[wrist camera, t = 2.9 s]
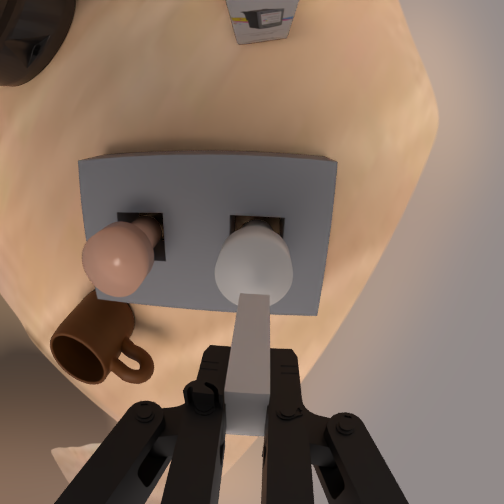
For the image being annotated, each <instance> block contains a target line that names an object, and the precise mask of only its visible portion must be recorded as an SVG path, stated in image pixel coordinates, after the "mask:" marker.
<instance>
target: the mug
mask: <svg viewBox="0 0 504 504" xmlns="http://www.w3.org/2000/svg"><path fill="white" fill-rule="evenodd" d="M133 329H134V317H133V313H132V311H131V309H130V307H129V306H128V305H127V303H126V302H117V301H110V300H102V299H98V298H97V294H96V291H93V292H91V293H89V294H88V295H87V296H86V297H85V298H84V299H83V300H82V301H81V302H80V303H79V304H78V305H77V306H76V307H75V309H74V310H73V311H72V312H71V313H70V314H69V315H68V316H67V317H66V319H65V320H64V321H63V322H62V323H61V324H60V326H59V327H58V328H57V330H56V331H55V333H54V334H53V336H52V337H51V340H50V349H51V352H52V354H53V357H54V358H55V360H56V361H57V363H58V364H59V365H60V367H61V368H62V369H63V370H64V371H65V372H67V373H68V374H69V375H71V376H72V377H73V378H75V379H77V380H79V381H81V382H84V383H87V384H99V383H102V382H103V381H104V380H105V379H106V377H107V376H108V374H109V373H110V372H111V371H112V372H114V373H115V374H116V375H117V376H118V377H120V378H121V379H122V380H124V381H126V382H129V383H134V384H140V383H143V382H146V381H147V380H148V379H150V378H151V376H152V374H153V372H154V363H153V360H152V358H151V356H150V355H149V354H148V353H147V352H146V351H145V350H144V349H142V348H141V347H139V346H136V345H135V344H134V343H133V342H132V341H131V340H130V339H129V338H130V336H131V334H132V332H133ZM121 352H123V354H124V355H126V356H127V357H129V358H131V359H133V360H135V361H137V362H138V363H139V364H140V369H139V370H134V369H131V368H129V367H128V366H126V365H125V364H124V363H123V362H121V361H120V360H119V359H118V358H119V356H120V354H121Z"/></svg>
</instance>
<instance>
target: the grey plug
mask: <svg viewBox="0 0 504 504" xmlns="http://www.w3.org/2000/svg"><path fill="white" fill-rule="evenodd" d="M215 280H216V284H217V286H218V288H219V290H220V292H221V293H222V294H223V295H224V296H225V297H226V298H227V299H228V300H229V301H231V302H232V303H234V304H236V305H238V301H239V295H240V293H244V294H262V295H270V306H271V305H273V304H275V303H277V302H278V301H279V300H281V299H282V298H283V297H284V296H285V295H286V293H287V292H288V291H289V289H290V287H291V284H292V280H293V268H292V263H291V258H290V253H289V249H288V247H287V244H286V243H285V241H284V240H283V239H282V237H280V236H279V235H278V234H277V233H276V232H274V231H273V229H272V227H271V226H270V225H269V224H268V223H267V222H265V221H263V220H259V219H254V220H250V221H248V222H246V223H245V224H244V225H243V226H242V228H241V229H239V230H237V231H235V232H234V233H232V234H231V235H230V236H229V237H228V238H227V239H226V240H225V242H224V244H223V246H222V248H221V251H220V254H219V257H218V260H217V262H216V266H215Z"/></svg>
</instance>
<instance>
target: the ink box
mask: <svg viewBox="0 0 504 504" xmlns="http://www.w3.org/2000/svg"><path fill="white" fill-rule="evenodd" d="M298 2H299V0H226V4H227V8H228V11H229V15H230V18H231V22H232V25H233V29H234V33H235V36H236V40H237V43H238V44H249V43H255V42H262V41H268V40H275V39H283V38H287V36H288V34H289V31H290V27H291V24H292V21H293V18H294V14H295V11H296V8H297V5H298Z"/></svg>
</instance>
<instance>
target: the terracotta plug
mask: <svg viewBox="0 0 504 504" xmlns="http://www.w3.org/2000/svg"><path fill="white" fill-rule="evenodd" d="M161 237H162V229H161V226H160V224H159V222H158V221H157V220H156V219H154V218H153V217H151V216H140V217H138V218H137V219H136V220H135V221H133V222H132V223H128V222H122V221H119V222H113V223H111V224H109V225H107V226H106V227H104V228H103V229H102V230H100V231H99V232H97V233H96V234H95V235H93V236H92V237H91V238H89V239H88V241H87V242H86V244H85V245H84V248H83V252H82V263H83V267H84V270H85V273H86V275H87V277H88V278H89V280H90V281H91V282H92V284H93V285H94V286H95V287H96V288H97V289H99V290H100V291H102V292H103V293H105V294H107V295H110V296H114V297H125V296H128V295H131V294H132V293H134V292H135V291H136V290H137V289H138V287H139V286H140V285H141V283H142V282H143V280H144V279H145V278H146V276H147V275H148V274H149V272H150V271H151V269H152V267H153V263H154V251H153V248H154V247H155V246H156V245H157V244H158V242H159V241H160V240H161Z"/></svg>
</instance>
